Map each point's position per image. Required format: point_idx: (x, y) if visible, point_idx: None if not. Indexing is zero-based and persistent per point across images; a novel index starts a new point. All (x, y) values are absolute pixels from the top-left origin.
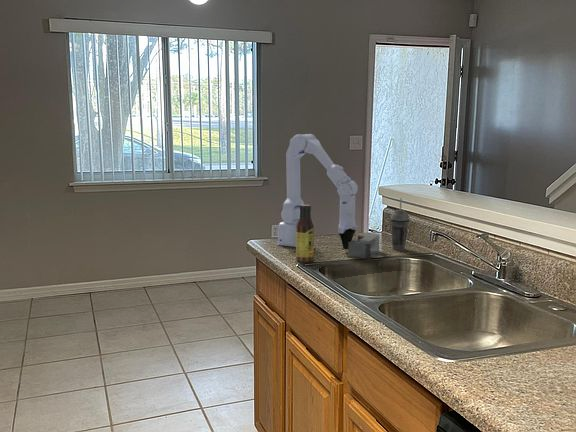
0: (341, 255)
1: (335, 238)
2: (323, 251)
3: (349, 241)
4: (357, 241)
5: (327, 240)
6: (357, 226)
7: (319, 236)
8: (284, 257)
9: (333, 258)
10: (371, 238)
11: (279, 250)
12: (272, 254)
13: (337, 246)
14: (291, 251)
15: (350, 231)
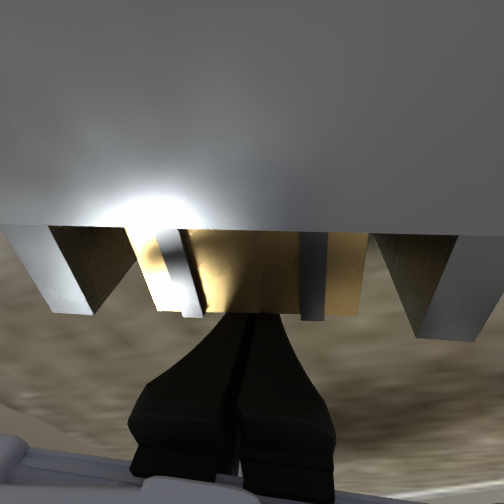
0: (383, 284)
1: (16, 375)
2: (308, 375)
3: (452, 336)
4: (193, 272)
5: (79, 391)
6: (173, 500)
7: (47, 417)
8: (495, 463)
9: (499, 307)
10: (342, 12)
11: (359, 477)
12: (440, 486)
13: (154, 344)
14: (363, 455)
15: (225, 434)
